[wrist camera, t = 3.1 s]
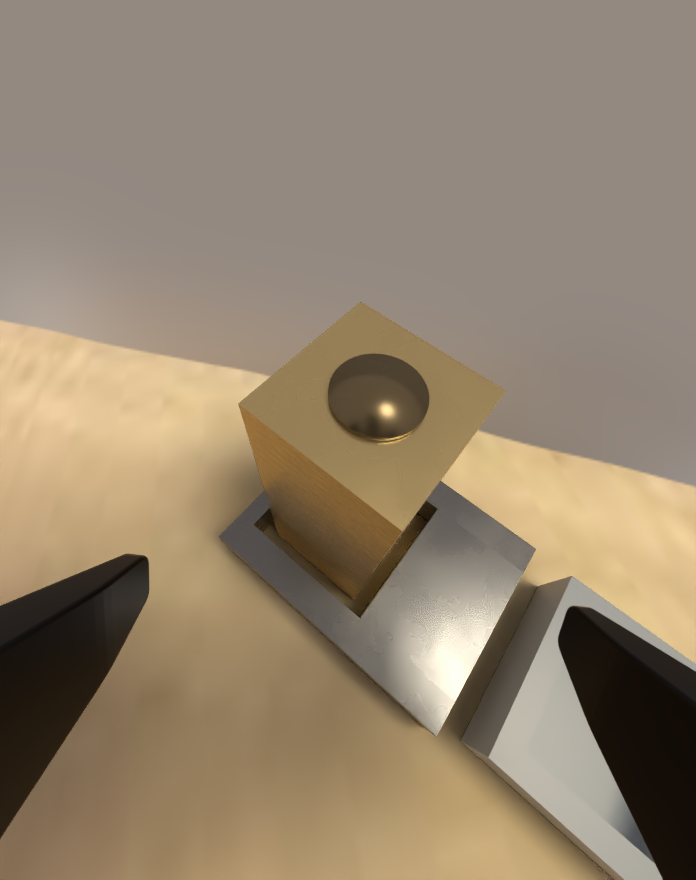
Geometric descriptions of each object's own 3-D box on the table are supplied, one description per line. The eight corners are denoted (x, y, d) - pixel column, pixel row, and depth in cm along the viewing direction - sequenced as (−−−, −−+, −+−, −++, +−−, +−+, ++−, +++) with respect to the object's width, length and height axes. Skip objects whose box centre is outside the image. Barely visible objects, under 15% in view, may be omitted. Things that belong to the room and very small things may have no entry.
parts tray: (644, 906, 14) (718, 963, 12) (460, 740, 16) (488, 757, 14) (694, 702, 18) (761, 711, 15) (537, 586, 20) (572, 575, 17)
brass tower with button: (353, 599, 19) (404, 528, 8) (278, 534, 20) (237, 398, 9) (409, 522, 21) (509, 386, 10) (338, 468, 22) (361, 296, 11)
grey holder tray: (517, 557, 20) (535, 548, 18) (423, 727, 16) (436, 736, 15) (341, 429, 23) (343, 411, 22) (227, 547, 19) (219, 536, 18)
